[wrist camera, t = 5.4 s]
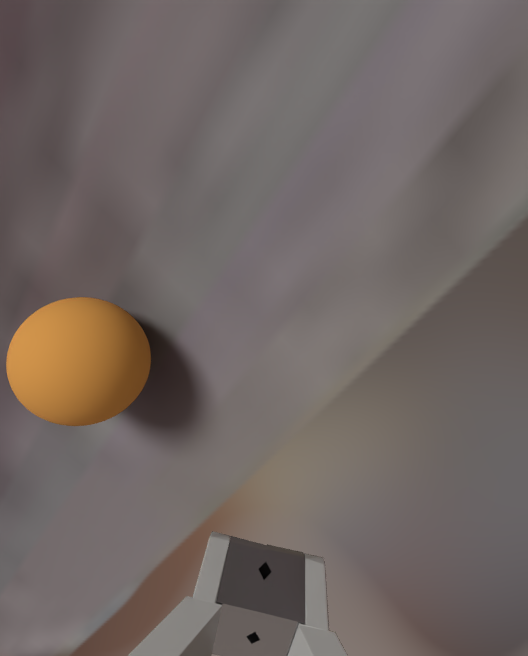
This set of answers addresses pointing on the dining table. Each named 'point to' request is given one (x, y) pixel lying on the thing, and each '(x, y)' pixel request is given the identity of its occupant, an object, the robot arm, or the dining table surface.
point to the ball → (78, 361)
